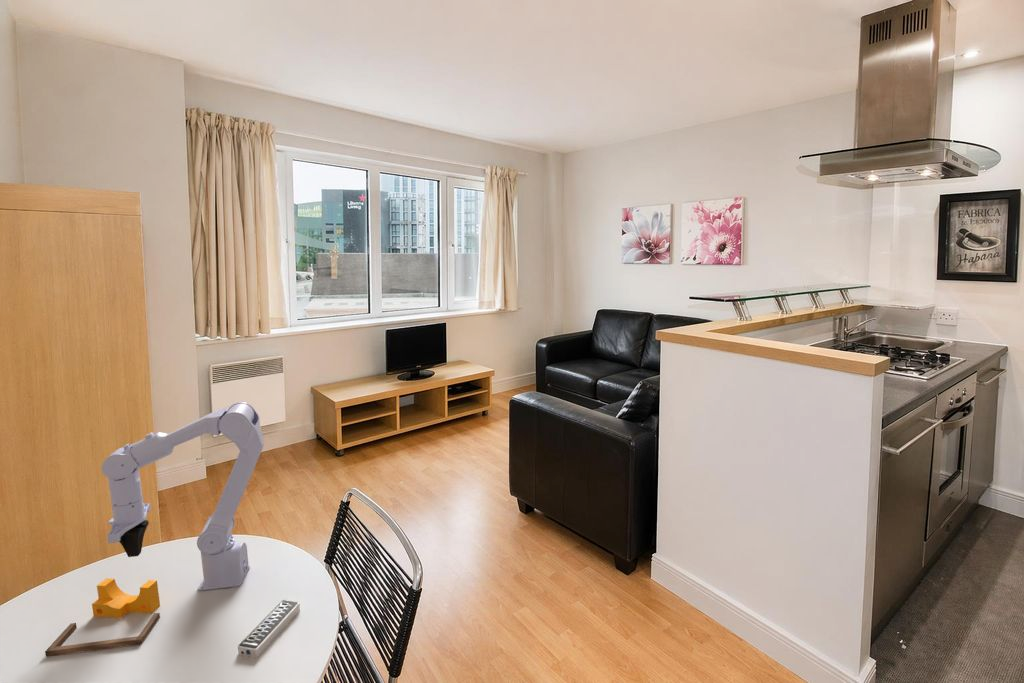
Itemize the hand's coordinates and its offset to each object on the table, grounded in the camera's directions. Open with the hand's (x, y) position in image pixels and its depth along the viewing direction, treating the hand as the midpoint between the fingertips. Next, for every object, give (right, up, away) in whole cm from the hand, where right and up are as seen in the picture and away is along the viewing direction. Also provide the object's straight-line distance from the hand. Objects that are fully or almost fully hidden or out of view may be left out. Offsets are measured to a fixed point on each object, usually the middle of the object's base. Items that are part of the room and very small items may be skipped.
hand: (134, 555), depth 119 cm
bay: (+3, -12, -12) cm, 17 cm away
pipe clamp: (+1, -11, -4) cm, 12 cm away
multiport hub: (+37, -12, -10) cm, 40 cm away
